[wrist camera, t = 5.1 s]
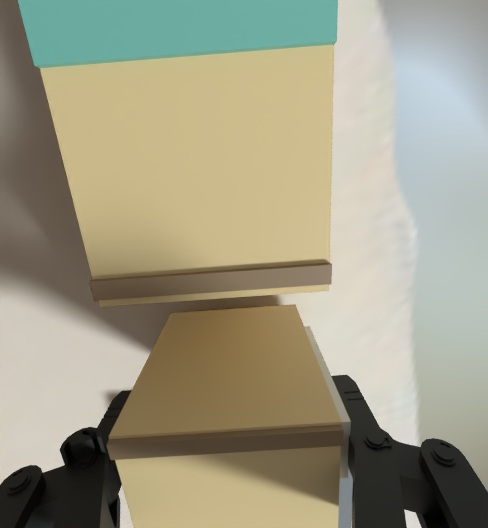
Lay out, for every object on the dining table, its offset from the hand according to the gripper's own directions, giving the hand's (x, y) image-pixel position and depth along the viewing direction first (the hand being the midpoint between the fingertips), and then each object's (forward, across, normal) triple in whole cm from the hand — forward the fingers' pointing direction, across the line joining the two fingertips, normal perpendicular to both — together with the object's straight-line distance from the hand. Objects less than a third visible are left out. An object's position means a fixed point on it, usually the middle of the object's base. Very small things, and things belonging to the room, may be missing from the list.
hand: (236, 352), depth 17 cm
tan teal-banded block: (+2, 0, +11) cm, 11 cm away
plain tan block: (0, 0, 0) cm, 0 cm away
